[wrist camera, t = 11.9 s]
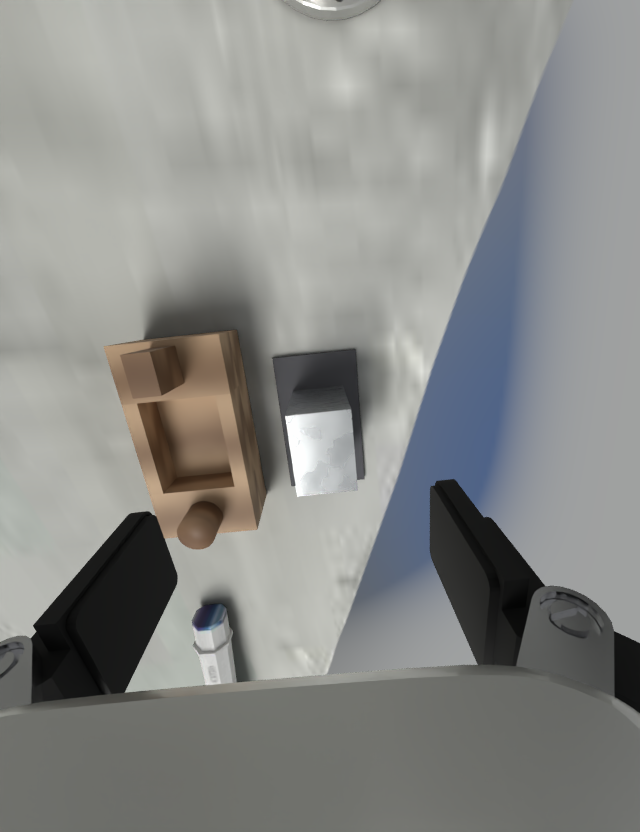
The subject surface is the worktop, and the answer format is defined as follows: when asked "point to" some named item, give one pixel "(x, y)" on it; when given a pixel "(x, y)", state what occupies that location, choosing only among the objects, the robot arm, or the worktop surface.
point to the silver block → (321, 441)
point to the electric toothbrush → (214, 644)
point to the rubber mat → (320, 374)
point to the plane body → (192, 432)
